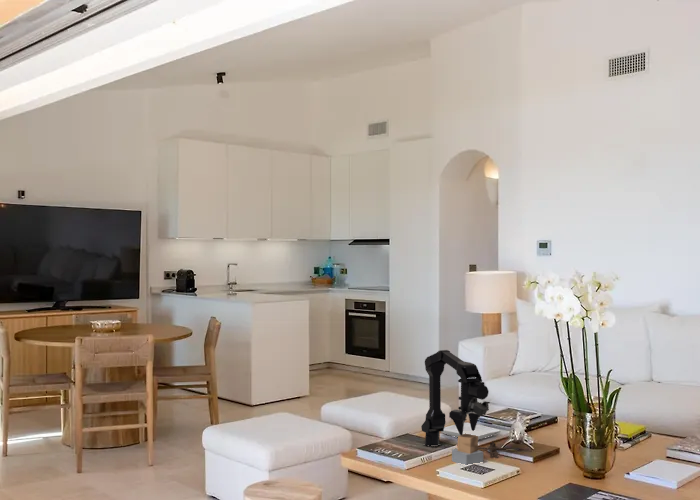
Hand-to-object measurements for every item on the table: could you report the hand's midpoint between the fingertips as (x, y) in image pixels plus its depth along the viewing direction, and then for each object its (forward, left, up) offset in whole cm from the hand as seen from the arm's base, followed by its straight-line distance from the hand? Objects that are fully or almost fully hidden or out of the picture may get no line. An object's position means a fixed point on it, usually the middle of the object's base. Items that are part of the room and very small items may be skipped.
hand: (467, 432), depth 292 cm
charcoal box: (+1, +1, -12) cm, 12 cm away
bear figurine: (-18, +2, -13) cm, 22 cm away
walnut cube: (+1, +1, -7) cm, 7 cm away
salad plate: (-36, -21, -12) cm, 44 cm away
